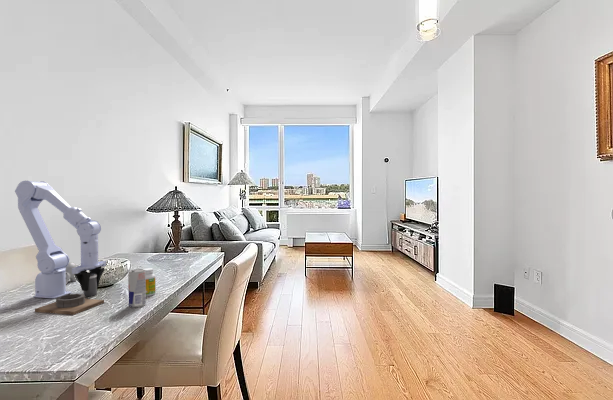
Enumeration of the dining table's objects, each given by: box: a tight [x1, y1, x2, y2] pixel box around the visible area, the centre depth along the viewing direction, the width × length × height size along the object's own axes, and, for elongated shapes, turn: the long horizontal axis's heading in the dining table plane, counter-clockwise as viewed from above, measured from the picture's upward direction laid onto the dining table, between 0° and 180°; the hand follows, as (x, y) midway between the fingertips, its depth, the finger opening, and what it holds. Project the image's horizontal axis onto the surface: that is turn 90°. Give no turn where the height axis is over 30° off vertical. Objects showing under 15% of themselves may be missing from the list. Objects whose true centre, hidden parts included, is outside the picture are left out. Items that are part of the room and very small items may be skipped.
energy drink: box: [127, 268, 147, 309], centre depth 127 cm, size 5×5×12 cm
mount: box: [34, 293, 105, 316], centre depth 125 cm, size 15×13×4 cm
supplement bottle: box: [142, 267, 156, 297], centre depth 140 cm, size 5×5×10 cm
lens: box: [82, 273, 98, 298], centre depth 140 cm, size 4×4×8 cm
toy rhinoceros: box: [65, 261, 78, 285], centre depth 159 cm, size 7×12×8 cm, turn 12°
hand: (90, 288), depth 140 cm, fingers closed on lens, 4 cm apart
